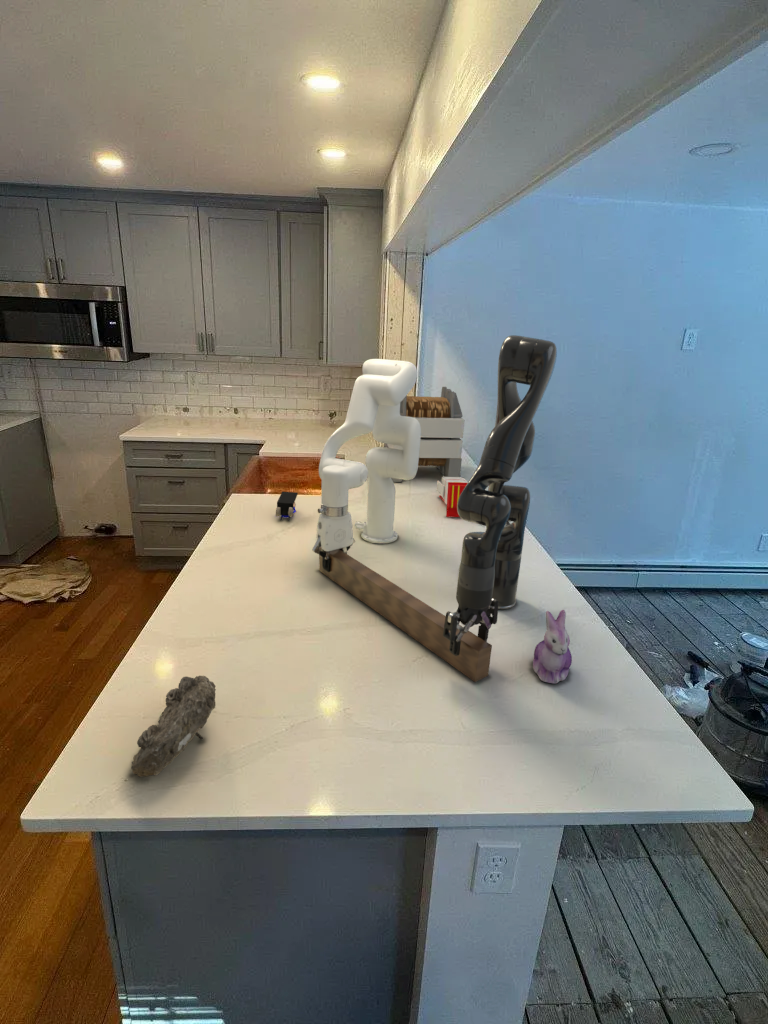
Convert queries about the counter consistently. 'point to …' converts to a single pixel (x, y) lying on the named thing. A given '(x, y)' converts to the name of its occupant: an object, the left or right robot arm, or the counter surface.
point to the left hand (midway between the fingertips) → (333, 567)
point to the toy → (451, 493)
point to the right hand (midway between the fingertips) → (468, 647)
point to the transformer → (437, 431)
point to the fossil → (175, 725)
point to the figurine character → (286, 505)
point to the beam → (408, 614)
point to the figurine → (553, 651)
